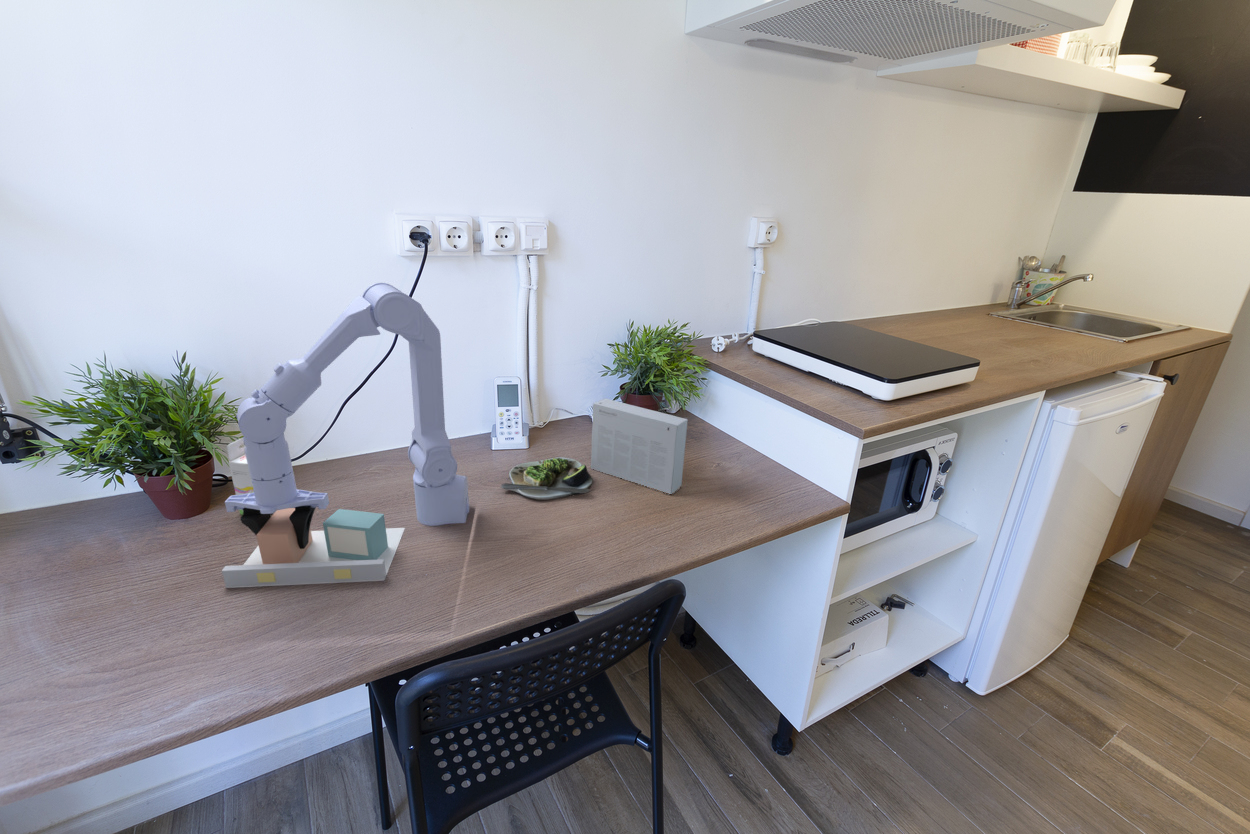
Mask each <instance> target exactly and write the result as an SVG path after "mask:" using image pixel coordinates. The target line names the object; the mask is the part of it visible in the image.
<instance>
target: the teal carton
mask: <svg viewBox="0 0 1250 834" xmlns="http://www.w3.org/2000/svg"><path fill="white" fill-rule="evenodd" d="M322 526H323V527H322V528H323V531H324V534H325V539H326V545H327V551H328V556H329V557H335V558H343V559H351V560H377V559H378V557H379V556H380V555H381V554H382V553H383V552H384V551H385V550H386V549H387V547H388V542H387V534H386V528H387V527H386V521H385V513H380V512H379V513H378V512H369V511H362V510H360V511H359V510H353V509H346V508H345V509H344V508H339V509H337V510H336V511H335V512H334V513H332V514H331V515H330V516H329V517H328V518H327V519H325V520H324V521H323V522H322Z"/></svg>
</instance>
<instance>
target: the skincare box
mask: <svg viewBox="0 0 1250 834" xmlns="http://www.w3.org/2000/svg"><path fill="white" fill-rule="evenodd" d="M688 422H689V421H688V418H683V417H679V416H675V415H672V414H668V413H664V412H660V411H657V410H652V409H648V408H645V407H640V406H637V405H633V404H628V403H624V402H620V401H617V400H614V399H610V398H602V399H600V400H598V401H596V402H593V403H592V428H591V452H590V453H591V456H590V457H591V458H590V470H593V469H594V471H596V470H597V472H599V471H600V473H602V472H603V474H605V473H606V474H605V475H608V474H610V475H609V476H611V475H613V476H612V477H614V476H616V477H615V478H617V477H619V478H618V479H620V478H622V479H621V480H623V479H625V480H624V481H626V480H628V481H627V482H629V481H631V482H630V483H632V482H635V483H638V484H637V485H639V484H641V485H640V486H642V485H644V486H643V487H645V486H647V487H646V488H648V487H650V488H649V489H651V488H654V489H657V490H660V491H663V492H666V493H669V494H672V493H673V492H674V493H676V492H677V491H678V490H679V489H680V488H679V487H680V486H681V487H682V485H683V484H682V483H683V472H684V461H685V453H686V452H685V451H686V443H687V432H688V431H687V430H688ZM635 483H634V484H635ZM678 488H679V489H678ZM654 489H653V490H654ZM677 489H678V490H677ZM657 490H656V491H657ZM676 490H677V491H676ZM660 491H659V492H660ZM675 491H676V492H675ZM663 492H662V493H663ZM666 493H665V494H666ZM674 493H673V494H674ZM669 494H668V495H669ZM673 494H672V495H673Z"/></svg>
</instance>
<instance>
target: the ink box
mask: <svg viewBox="0 0 1250 834" xmlns="http://www.w3.org/2000/svg"><path fill="white" fill-rule="evenodd" d="M241 445H244V442H243V437H241V438H239V439H237V440H235V441H233V442H230V443H229V444H227V446H226V451H227V456H228V466H229V471H230V474H231V480H232V483H233V488H234V492H235V495H242V494H248V493H254V490H253V485H252V481H251V477H250V472H249V468H248V463H247V459H246V454H245V447H246V446H245V445H244V446H243V447H240V446H241ZM239 514H240V515H243V510H239Z"/></svg>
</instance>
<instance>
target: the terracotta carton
mask: <svg viewBox="0 0 1250 834" xmlns="http://www.w3.org/2000/svg"><path fill="white" fill-rule="evenodd" d="M293 511H295V508H288V509H282V510H277V511H276V512H275V513H272V515H271V518H270V519H269V520H268V521H267V523H266V524H265V525H264V526H263V528H262V529H261V530H260V531H259V533H258V534H257V535H255V536H256V540H257V543H258V544H257V546H258V545H259V549H260V554H261V558H262V562H263V564H283V563H299V561H300V560H301V558H302V556H303V555H304V553H305V552H306V550H307V549H308V547H309V545H310V544H311V542H312V541H313V539H312V534H311V531H312V530H311V528H310V529H309V542H308V544H307V545H306V547H305V548H304V549H300V548H299V545H298V541H297V535H296V532H295V529H294V526H293V524H292V522H291V521H290V519H289V517H290V515H291V514H292V513H293Z"/></svg>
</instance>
